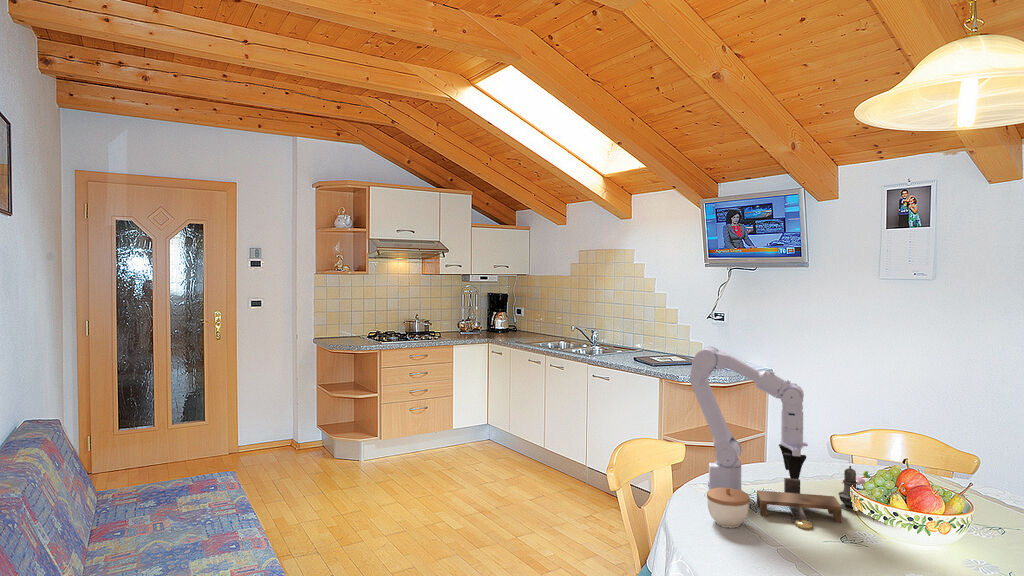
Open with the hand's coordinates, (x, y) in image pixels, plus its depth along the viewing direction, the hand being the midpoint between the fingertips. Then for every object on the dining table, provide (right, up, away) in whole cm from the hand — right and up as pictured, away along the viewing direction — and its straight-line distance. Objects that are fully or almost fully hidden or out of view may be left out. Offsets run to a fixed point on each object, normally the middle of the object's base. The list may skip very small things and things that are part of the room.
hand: (791, 474), depth 177 cm
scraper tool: (-2, -9, -6) cm, 11 cm away
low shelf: (-2, -9, -8) cm, 12 cm away
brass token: (-4, -9, -16) cm, 19 cm away
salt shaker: (+15, -9, -4) cm, 17 cm away
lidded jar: (-23, -9, -13) cm, 28 cm away
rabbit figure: (+26, -8, +11) cm, 29 cm away
